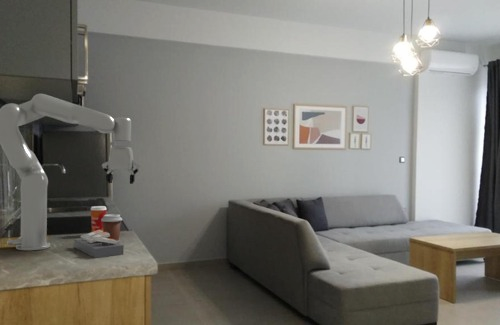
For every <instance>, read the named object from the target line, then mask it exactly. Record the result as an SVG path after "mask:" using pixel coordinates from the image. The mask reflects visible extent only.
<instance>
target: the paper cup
mask: <svg viewBox="0 0 500 325" xmlns="http://www.w3.org/2000/svg"><path fill="white" fill-rule="evenodd" d="M104 215H107V207H106V206H105V205H97V206H96V205H95V206H91V207H90V218H91V232H94V231H97V230H101V231H103V221H101V219H102V218H103V217H104Z"/></svg>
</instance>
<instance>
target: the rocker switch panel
mask: <svg viewBox="0 0 500 325" xmlns="http://www.w3.org/2000/svg"><path fill="white" fill-rule="evenodd" d="M73 244H74V245H73V247H74V249H76V250H79V251H80V252H82V253H85V254H86V255H88V256H90V257H92V258H94V259H99V258H104V257H113V256H121V255H124V248H125V247H124V244H122V243H119V242H117V243H116V244H114V243H107V242H100V241H96V242H93V243H89V242H87V240H82V239H81V238H74V243H73Z"/></svg>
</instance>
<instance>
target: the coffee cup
mask: <svg viewBox="0 0 500 325" xmlns="http://www.w3.org/2000/svg"><path fill="white" fill-rule="evenodd" d="M101 221H103V233H104V232H107V233H109V234H110V237H107V238H109V239H114V240H116V241H117V243H119V242H118V241H120V232H121V224H122V221H123V218H122V217H121V214H118V213H117V214H116V213H113V214H112V213H111V214H107V213H106V215H104V217H103V218H102V219H101Z"/></svg>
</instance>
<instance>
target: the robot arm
mask: <svg viewBox="0 0 500 325" xmlns="http://www.w3.org/2000/svg"><path fill="white" fill-rule="evenodd" d="M44 117H48V118H53V119H55V120H58V121H61V122H63V123H67V124H70V125H71V124H72V125H82V126H84V127H88V128H92V129H95V130H96V131H97V132H98V133H101V134H113V138H112V139H113V140H112V142H110V143H109V145H110V146H112V147H111V148H110V150H109V157H108V161H106V162H103V163H102V164H101V167H102V169H103V171H104V172H105V173H106V174H107V175H106V176H107V180H106V181H107V182H108V184H112V183H113V172H114V171H128V172H129V173H130V175H129V184H130V185H133V184H134V183H135V178H136V177H135V176H136V174H137V173H139V171H140V169H141V167H142V165H141V164H139V163H137V162H136V161H134V152H133V148H132V146H131V144H132V120H131V118H129V117H121V116H120V117H114V118H113V117H112V116H111V115H110V114H107V113H104V112H101V111H98V110H95V109H92V108H89V107H86V106H83V105H79V104H76V103H72V102H70V101H67V100H64V99H60V98H58V97H54V96H51V95H48V94H45V93H37V94H35V95H33V97H32V98H31V100H28V101H26V102H22V103H19V104H17V103H13V102H12V103H11V102H10V103H6V104H4V105H2V107H1V108H0V146H1V149H2V150H3V152H4V154H5V156H6V158H7V160H8V162H9V164H10V166H11V167H12V168H13V169H14V170H15V172H16V173H17V175H18V177H19V178H20V180H21V181H20V236H19V237H18V238H16V239H9V240H7V241H6V245H7V246H15V248H16V250H18V251H24V252H25V251H39V250H40V251H41V250H45V249H48V248H50V247H51V243H50V242H47V236H48V234H47V231H48V228H47V225H48V223H47V222H48V220H47V219H48V186H49V179H48V176H47V174H46V172H45V171H44V169H43V167H42V165H41V163H40V162H39V160H38V158H37V156H36V154H35V153H34V151H33V150H31V149H30V148H29V146H28V144H27V142H26V140H25V139H24V136H23V135H22V133H21V131H20V129H19V127H20V126H23V125H24V126H25V125H26V124H29V123H31V122H35V121H37V120H40V119H42V118H44ZM107 166H108V167H107ZM134 166H135V167H136V168H135V169H134Z"/></svg>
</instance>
